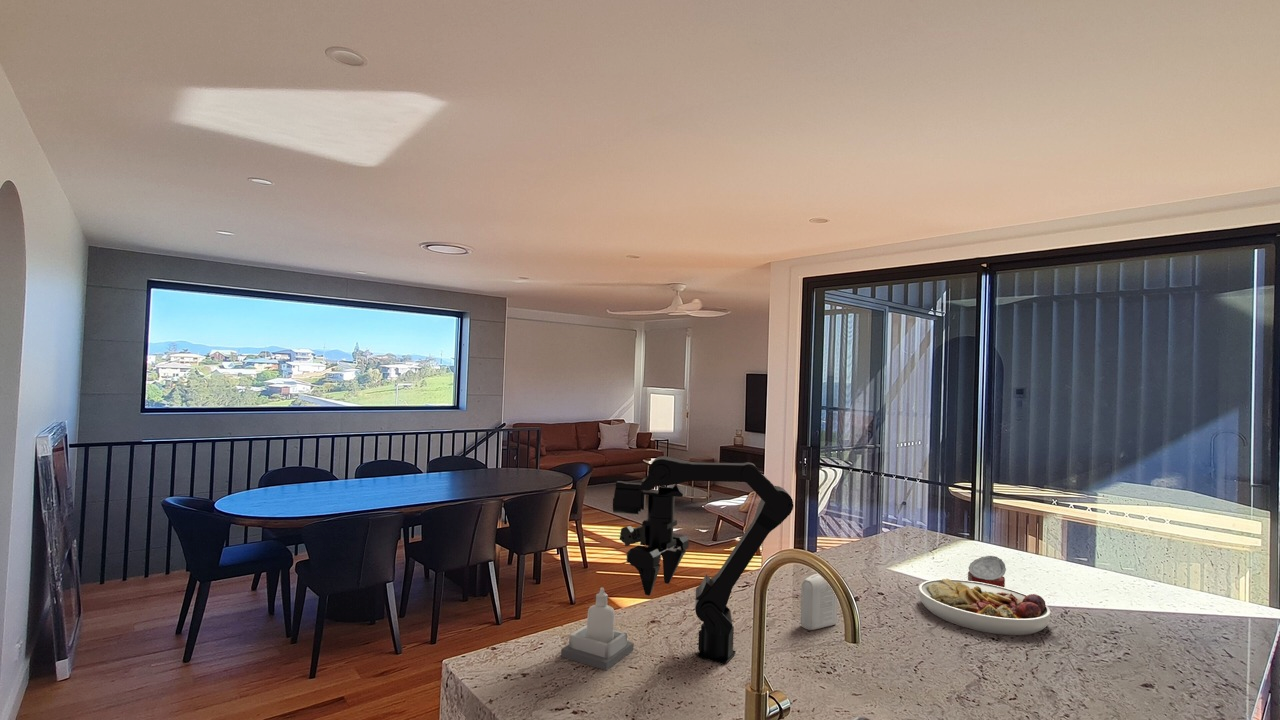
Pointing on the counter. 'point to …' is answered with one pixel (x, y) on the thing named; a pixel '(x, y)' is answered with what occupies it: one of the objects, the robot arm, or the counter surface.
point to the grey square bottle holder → (596, 649)
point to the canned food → (987, 571)
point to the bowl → (985, 606)
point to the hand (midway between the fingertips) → (657, 589)
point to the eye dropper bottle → (601, 619)
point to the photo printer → (817, 603)
